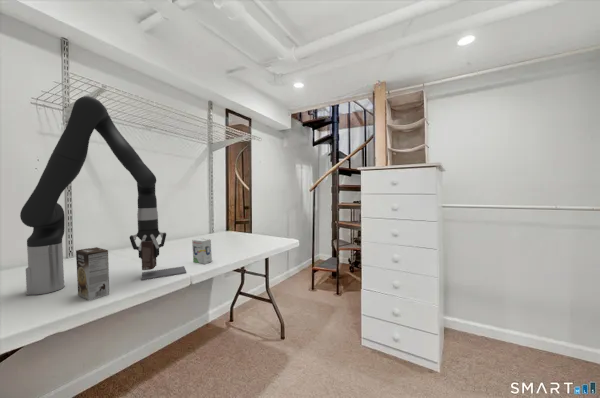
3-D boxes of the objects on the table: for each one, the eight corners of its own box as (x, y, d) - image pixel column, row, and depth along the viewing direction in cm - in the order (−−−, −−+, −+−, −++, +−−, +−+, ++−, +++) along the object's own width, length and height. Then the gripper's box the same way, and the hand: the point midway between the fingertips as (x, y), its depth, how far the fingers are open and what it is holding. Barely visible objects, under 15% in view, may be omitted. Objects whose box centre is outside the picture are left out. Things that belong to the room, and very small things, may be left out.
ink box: (212, 261, 130) (211, 239, 129) (204, 264, 125) (203, 240, 125) (200, 259, 134) (199, 237, 133) (192, 262, 129) (191, 239, 129)
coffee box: (76, 295, 89) (75, 250, 88) (98, 289, 95) (97, 246, 94) (88, 301, 84) (86, 253, 84) (110, 294, 90) (108, 249, 89)
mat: (141, 280, 103) (141, 279, 103) (142, 273, 112) (142, 272, 112) (186, 273, 112) (186, 271, 112) (184, 267, 121) (184, 266, 121)
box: (153, 269, 107) (152, 241, 106) (141, 270, 106) (139, 242, 105) (157, 265, 113) (156, 238, 112) (146, 266, 111) (144, 239, 111)
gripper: (126, 220, 101) (128, 262, 102) (167, 218, 109) (168, 257, 109) (128, 218, 108) (130, 258, 109) (166, 216, 115) (167, 253, 116)
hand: (149, 257), depth 109 cm, fingers closed on box, 5 cm apart
